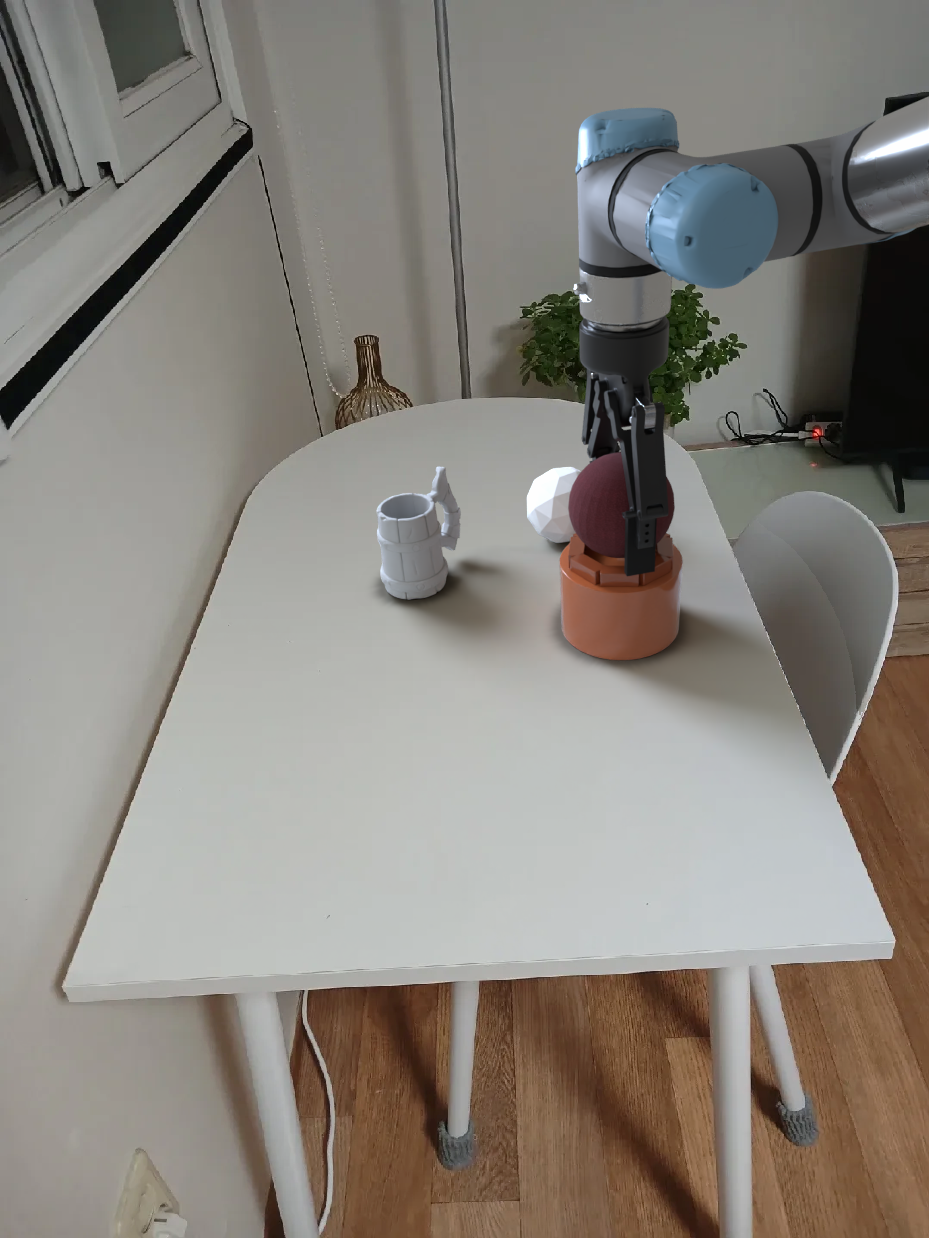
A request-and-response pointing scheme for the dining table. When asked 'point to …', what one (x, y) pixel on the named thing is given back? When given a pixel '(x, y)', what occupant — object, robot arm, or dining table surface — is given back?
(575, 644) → the pedestal
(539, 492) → the perfume bottle
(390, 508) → the mug
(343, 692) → the dining table surface
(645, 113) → the robot arm
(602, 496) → the decorative ball
